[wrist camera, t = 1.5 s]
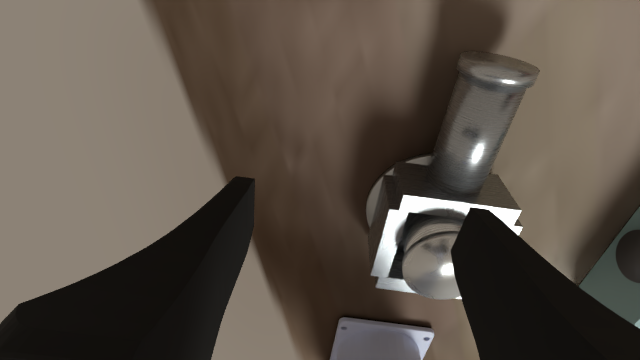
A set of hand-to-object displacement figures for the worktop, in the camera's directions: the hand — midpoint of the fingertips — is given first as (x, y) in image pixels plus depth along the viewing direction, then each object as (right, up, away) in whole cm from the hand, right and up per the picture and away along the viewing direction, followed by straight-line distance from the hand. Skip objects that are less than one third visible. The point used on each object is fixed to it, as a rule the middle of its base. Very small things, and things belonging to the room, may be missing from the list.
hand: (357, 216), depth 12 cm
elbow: (+6, +2, +9) cm, 11 cm away
